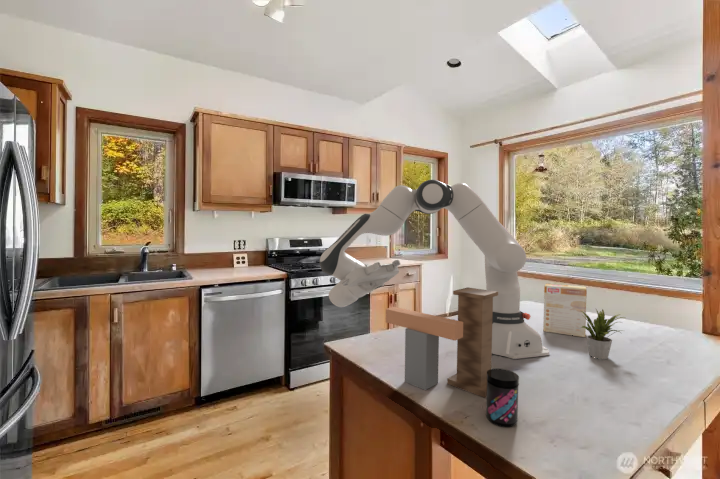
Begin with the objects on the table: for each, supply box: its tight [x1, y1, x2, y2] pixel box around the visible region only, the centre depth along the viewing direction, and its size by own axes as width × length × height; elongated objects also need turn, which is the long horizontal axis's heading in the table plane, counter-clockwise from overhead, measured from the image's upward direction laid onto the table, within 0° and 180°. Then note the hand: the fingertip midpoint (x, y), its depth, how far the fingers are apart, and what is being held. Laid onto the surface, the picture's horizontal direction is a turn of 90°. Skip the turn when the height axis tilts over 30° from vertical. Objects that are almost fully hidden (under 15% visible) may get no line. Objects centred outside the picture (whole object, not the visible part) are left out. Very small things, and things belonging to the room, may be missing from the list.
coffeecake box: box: [542, 283, 587, 338], centre depth 146 cm, size 15×7×20 cm, turn 58°
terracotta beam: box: [385, 306, 463, 342], centre depth 98 cm, size 23×4×4 cm, turn 45°
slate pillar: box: [404, 328, 440, 391], centre depth 98 cm, size 7×6×15 cm
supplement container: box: [485, 368, 520, 428], centre depth 79 cm, size 7×7×10 cm
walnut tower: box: [446, 287, 498, 398], centre depth 96 cm, size 11×9×26 cm
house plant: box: [581, 308, 625, 360], centre depth 118 cm, size 14×14×16 cm
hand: (388, 263), depth 111 cm, fingers open, 8 cm apart
